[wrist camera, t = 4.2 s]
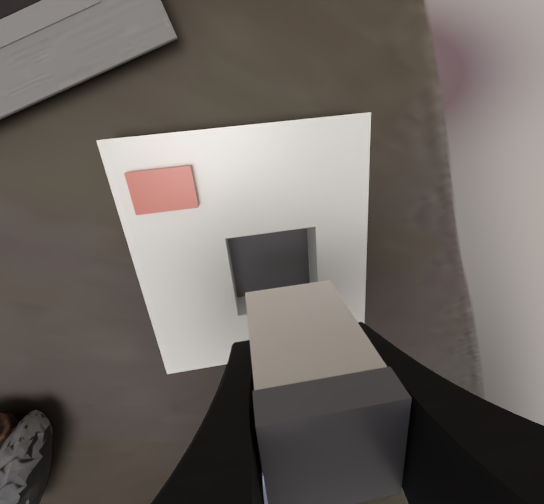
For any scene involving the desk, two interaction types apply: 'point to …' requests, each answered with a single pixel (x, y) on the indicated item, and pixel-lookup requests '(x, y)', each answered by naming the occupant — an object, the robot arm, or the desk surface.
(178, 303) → the socket plate
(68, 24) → the electrical outlet
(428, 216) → the desk surface
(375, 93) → the desk surface
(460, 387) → the robot arm
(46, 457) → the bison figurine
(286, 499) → the plug
